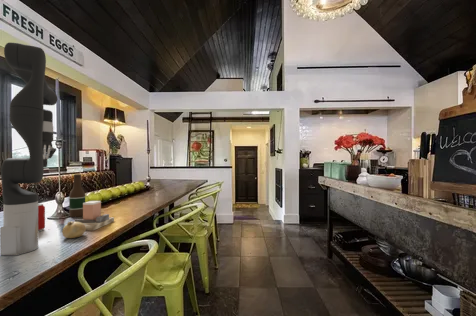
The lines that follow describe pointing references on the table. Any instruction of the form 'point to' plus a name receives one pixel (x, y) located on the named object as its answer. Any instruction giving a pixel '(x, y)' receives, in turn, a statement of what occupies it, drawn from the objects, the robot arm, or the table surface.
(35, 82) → the robot arm
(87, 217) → the pink box
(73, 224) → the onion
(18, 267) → the table surface
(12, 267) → the table surface
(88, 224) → the console
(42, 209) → the beverage can
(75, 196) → the beer bottle
